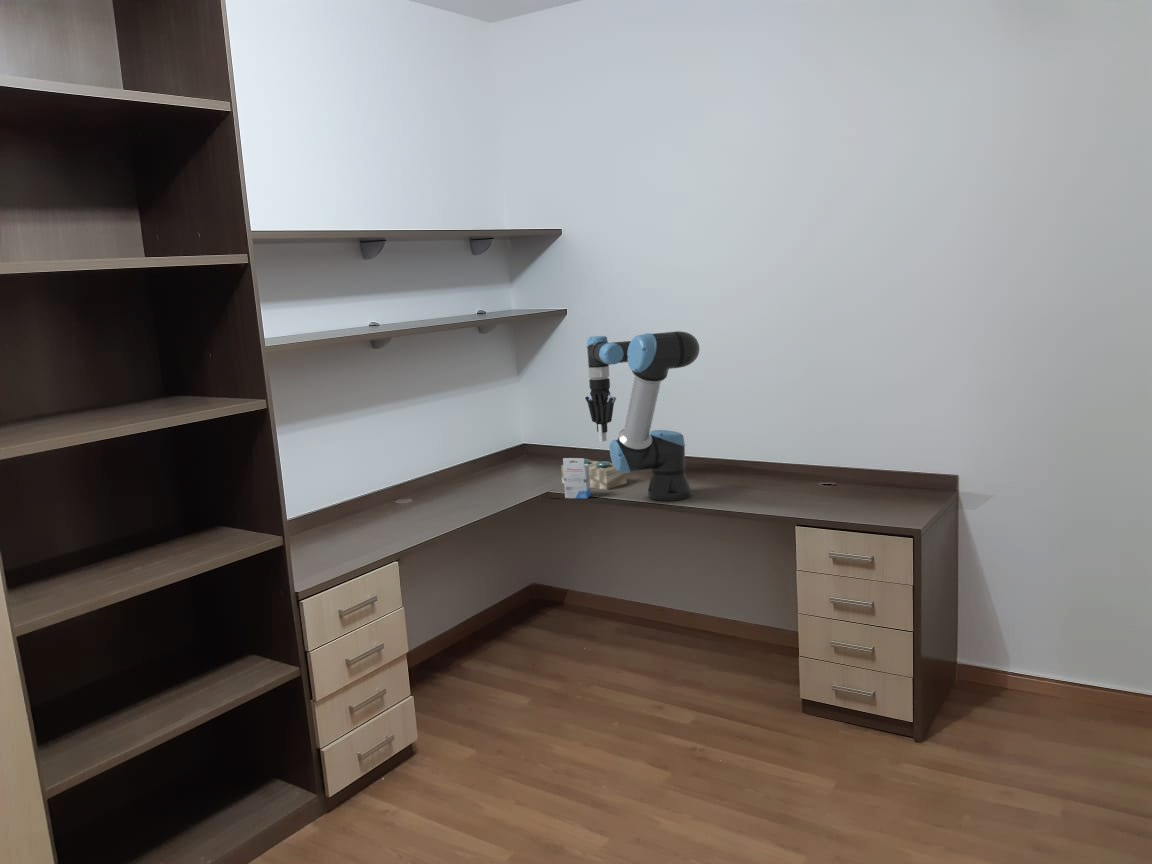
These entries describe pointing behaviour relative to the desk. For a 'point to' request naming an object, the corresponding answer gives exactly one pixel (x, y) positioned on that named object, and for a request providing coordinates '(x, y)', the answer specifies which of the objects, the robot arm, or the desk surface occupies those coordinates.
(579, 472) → the ink box
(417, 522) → the desk surface
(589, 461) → the teal lidded jar
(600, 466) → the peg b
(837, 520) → the desk surface
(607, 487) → the socket block
